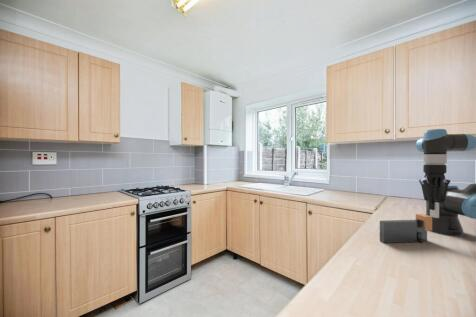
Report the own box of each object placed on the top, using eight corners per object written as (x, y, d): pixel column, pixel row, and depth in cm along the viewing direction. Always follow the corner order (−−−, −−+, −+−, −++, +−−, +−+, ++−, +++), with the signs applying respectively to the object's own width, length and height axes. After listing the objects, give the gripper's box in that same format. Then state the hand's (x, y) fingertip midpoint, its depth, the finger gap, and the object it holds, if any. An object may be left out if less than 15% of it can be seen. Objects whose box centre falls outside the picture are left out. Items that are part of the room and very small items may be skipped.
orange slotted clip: (422, 227, 95) (422, 213, 95) (432, 230, 91) (432, 216, 91) (415, 227, 95) (415, 214, 95) (425, 230, 90) (425, 216, 90)
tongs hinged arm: (414, 240, 92) (414, 220, 92) (416, 241, 91) (416, 221, 91) (381, 241, 91) (381, 221, 91) (384, 242, 90) (384, 222, 90)
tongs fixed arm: (424, 239, 94) (424, 219, 94) (431, 242, 91) (431, 221, 91) (379, 240, 93) (379, 220, 93) (385, 243, 89) (385, 222, 89)
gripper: (439, 163, 98) (439, 214, 98) (413, 163, 96) (413, 215, 96) (457, 164, 90) (457, 219, 90) (429, 164, 89) (429, 219, 89)
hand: (434, 216), depth 93 cm, fingers closed
